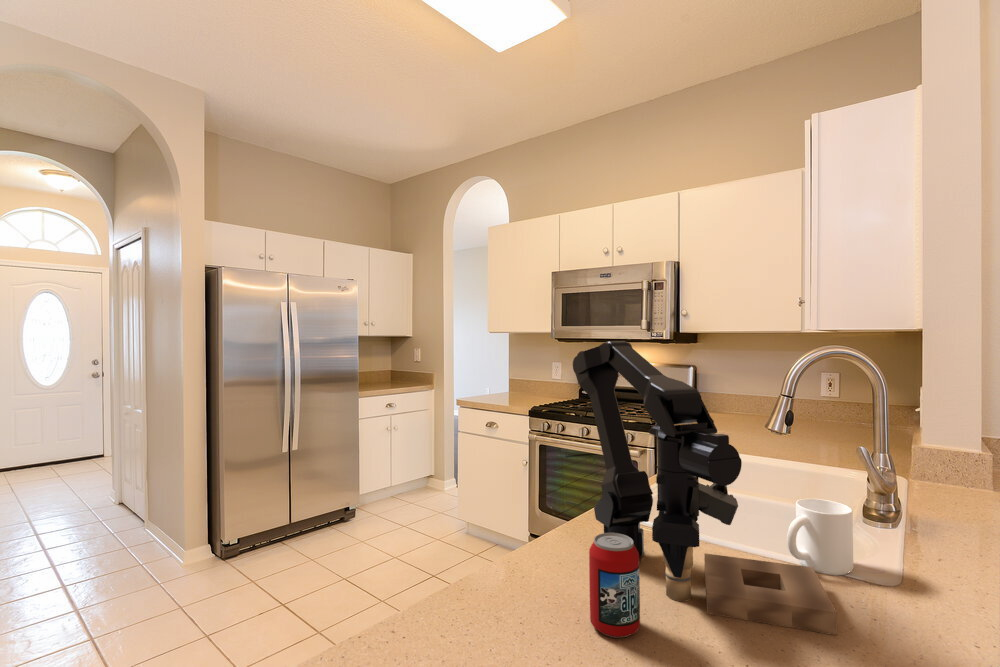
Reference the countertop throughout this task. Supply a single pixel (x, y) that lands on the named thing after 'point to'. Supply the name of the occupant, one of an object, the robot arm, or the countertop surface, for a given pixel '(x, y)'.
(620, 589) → the beverage can
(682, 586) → the peg
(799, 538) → the mug
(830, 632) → the board
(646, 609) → the countertop surface
